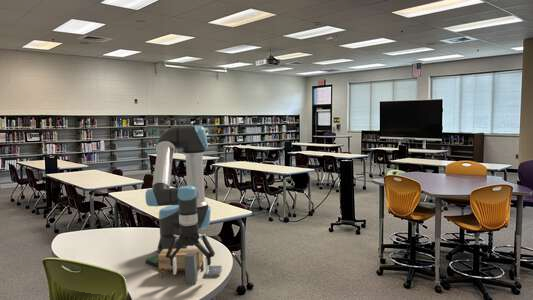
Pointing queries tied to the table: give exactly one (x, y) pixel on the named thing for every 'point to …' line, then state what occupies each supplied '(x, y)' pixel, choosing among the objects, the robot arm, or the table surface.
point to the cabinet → (178, 260)
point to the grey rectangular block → (191, 268)
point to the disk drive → (153, 261)
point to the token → (214, 271)
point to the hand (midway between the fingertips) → (191, 273)
